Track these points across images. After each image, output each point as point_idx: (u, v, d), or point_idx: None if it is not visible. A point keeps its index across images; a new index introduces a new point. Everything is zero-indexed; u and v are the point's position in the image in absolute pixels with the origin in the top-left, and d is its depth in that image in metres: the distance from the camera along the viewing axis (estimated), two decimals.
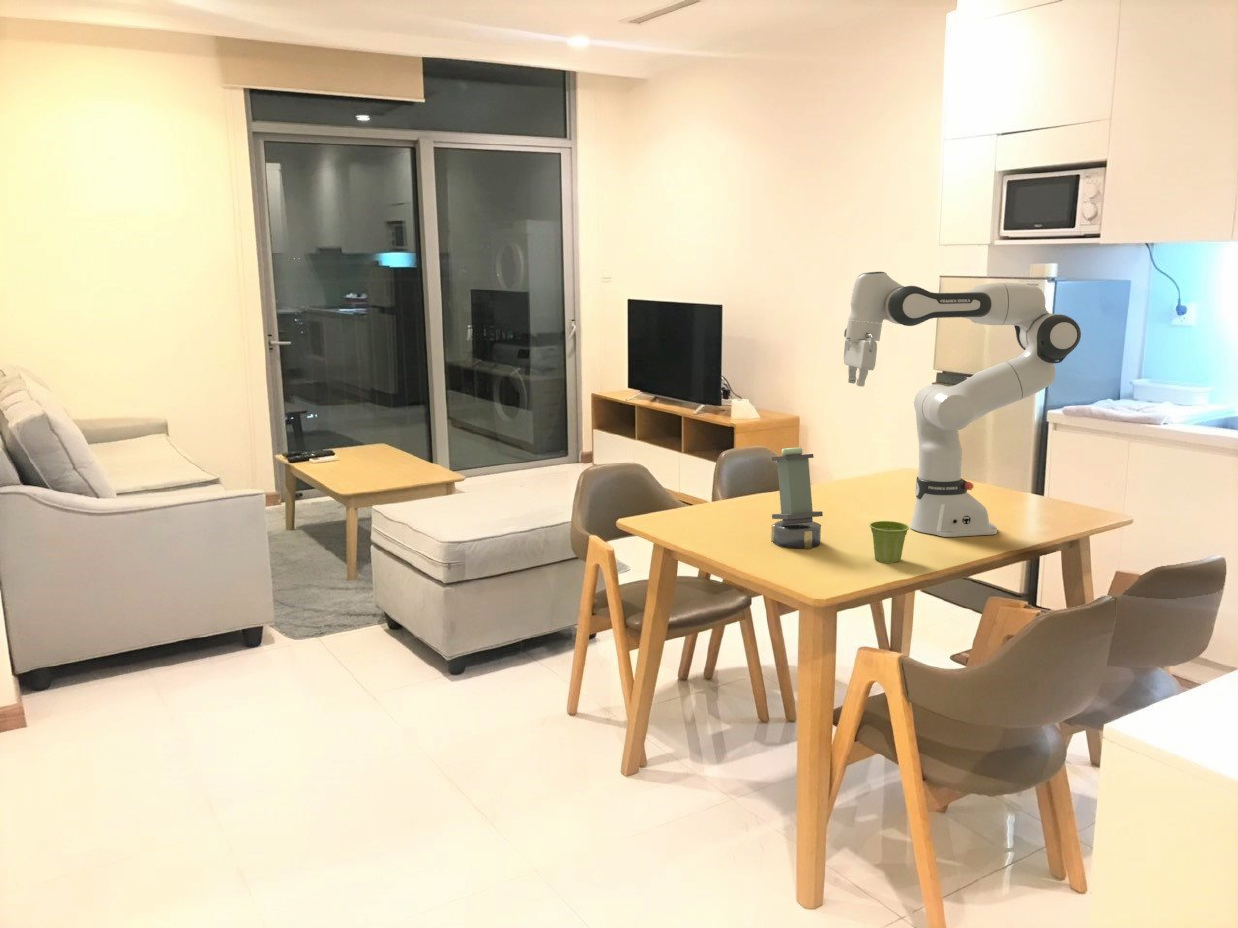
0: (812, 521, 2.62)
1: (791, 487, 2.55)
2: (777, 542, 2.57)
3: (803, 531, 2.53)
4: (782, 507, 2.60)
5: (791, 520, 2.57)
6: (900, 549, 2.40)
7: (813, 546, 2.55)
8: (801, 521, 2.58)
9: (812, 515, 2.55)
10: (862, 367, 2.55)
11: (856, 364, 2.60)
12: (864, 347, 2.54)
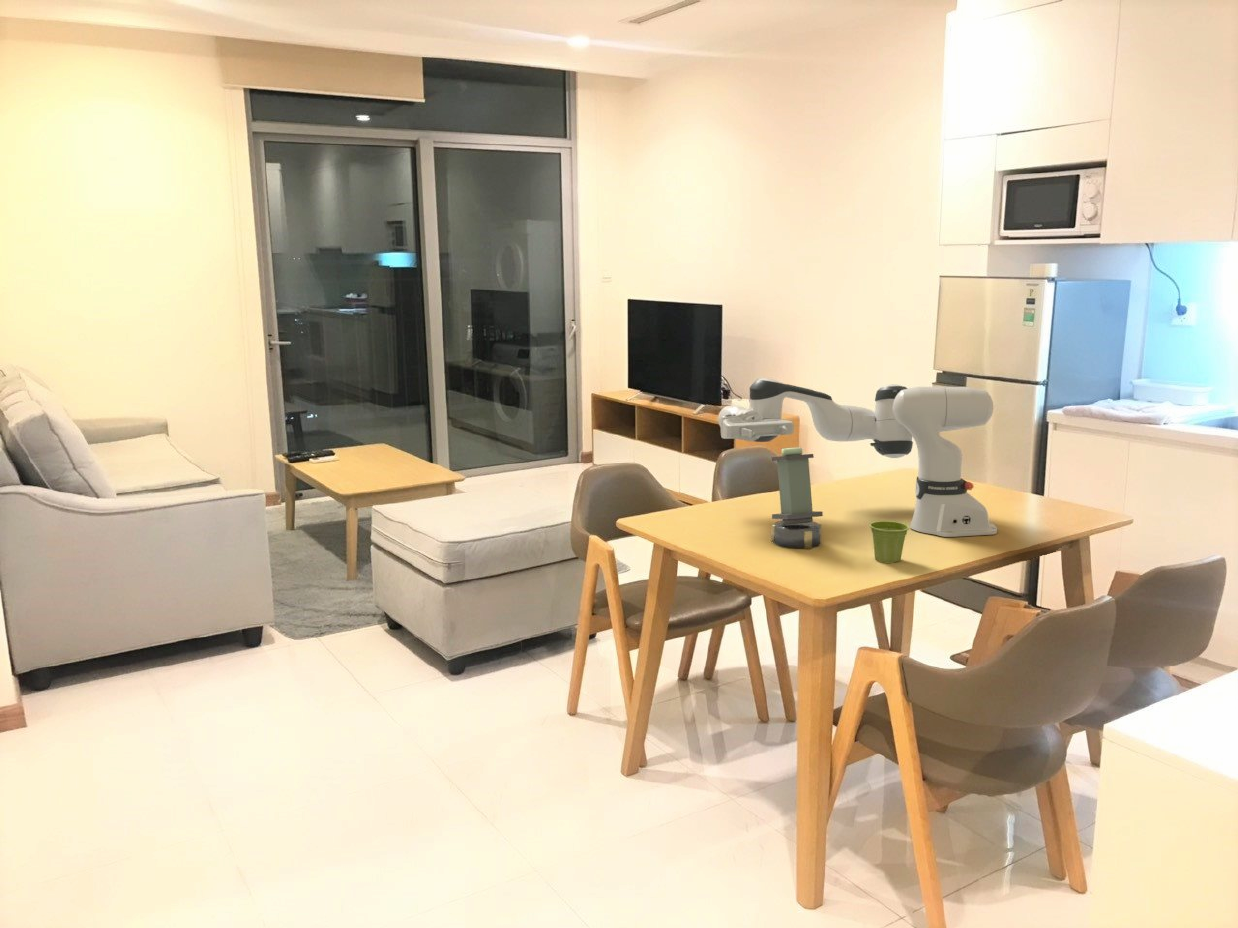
0: (812, 521, 2.62)
1: (791, 487, 2.55)
2: (777, 542, 2.57)
3: (803, 531, 2.53)
4: (782, 507, 2.60)
5: (791, 520, 2.57)
6: (900, 549, 2.40)
7: (813, 546, 2.55)
8: (801, 521, 2.58)
9: (812, 515, 2.55)
10: (792, 423, 2.79)
11: (776, 422, 2.78)
12: None
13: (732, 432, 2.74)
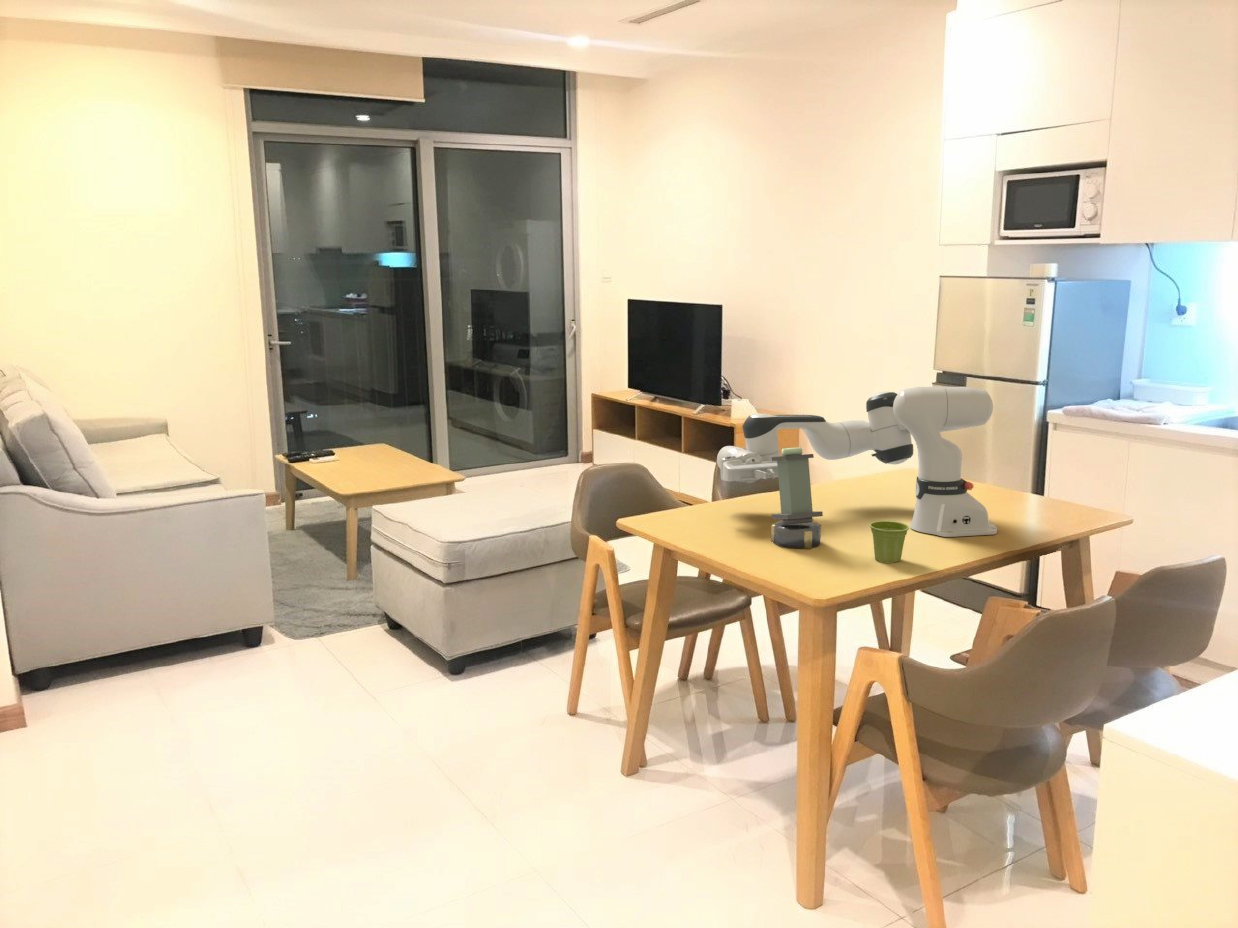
0: (812, 521, 2.62)
1: (791, 487, 2.55)
2: (777, 542, 2.57)
3: (803, 531, 2.53)
4: (782, 507, 2.60)
5: (791, 520, 2.57)
6: (900, 549, 2.40)
7: (813, 546, 2.55)
8: (801, 521, 2.58)
9: (812, 515, 2.55)
10: None
11: (776, 464, 2.78)
12: None
13: (733, 475, 2.73)
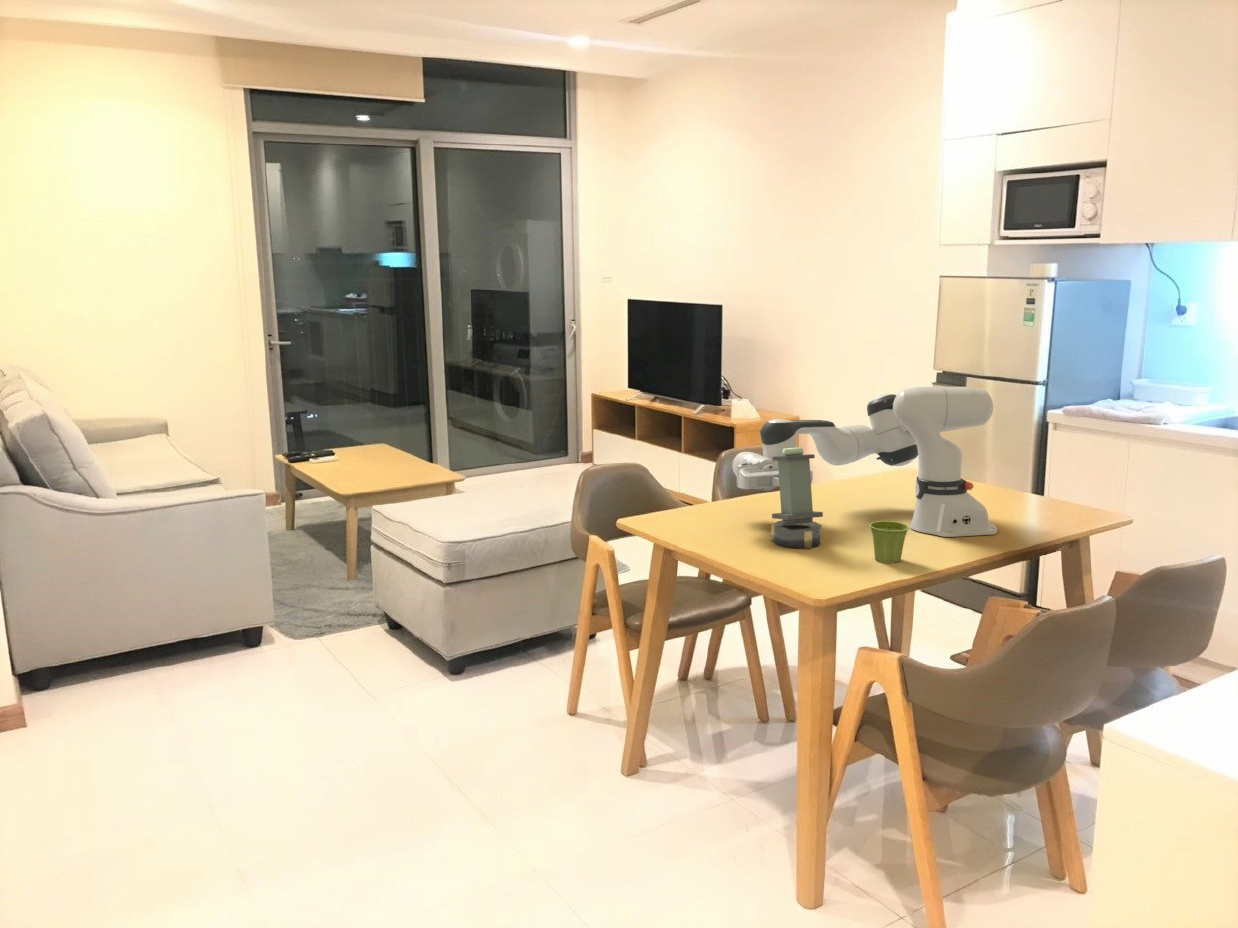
0: (812, 521, 2.62)
1: (791, 487, 2.55)
2: (777, 542, 2.57)
3: (803, 531, 2.53)
4: (782, 506, 2.59)
5: (791, 520, 2.57)
6: (900, 549, 2.40)
7: (813, 546, 2.55)
8: (801, 521, 2.58)
9: (812, 516, 2.55)
10: (811, 472, 2.68)
11: None
12: None
13: (750, 483, 2.63)
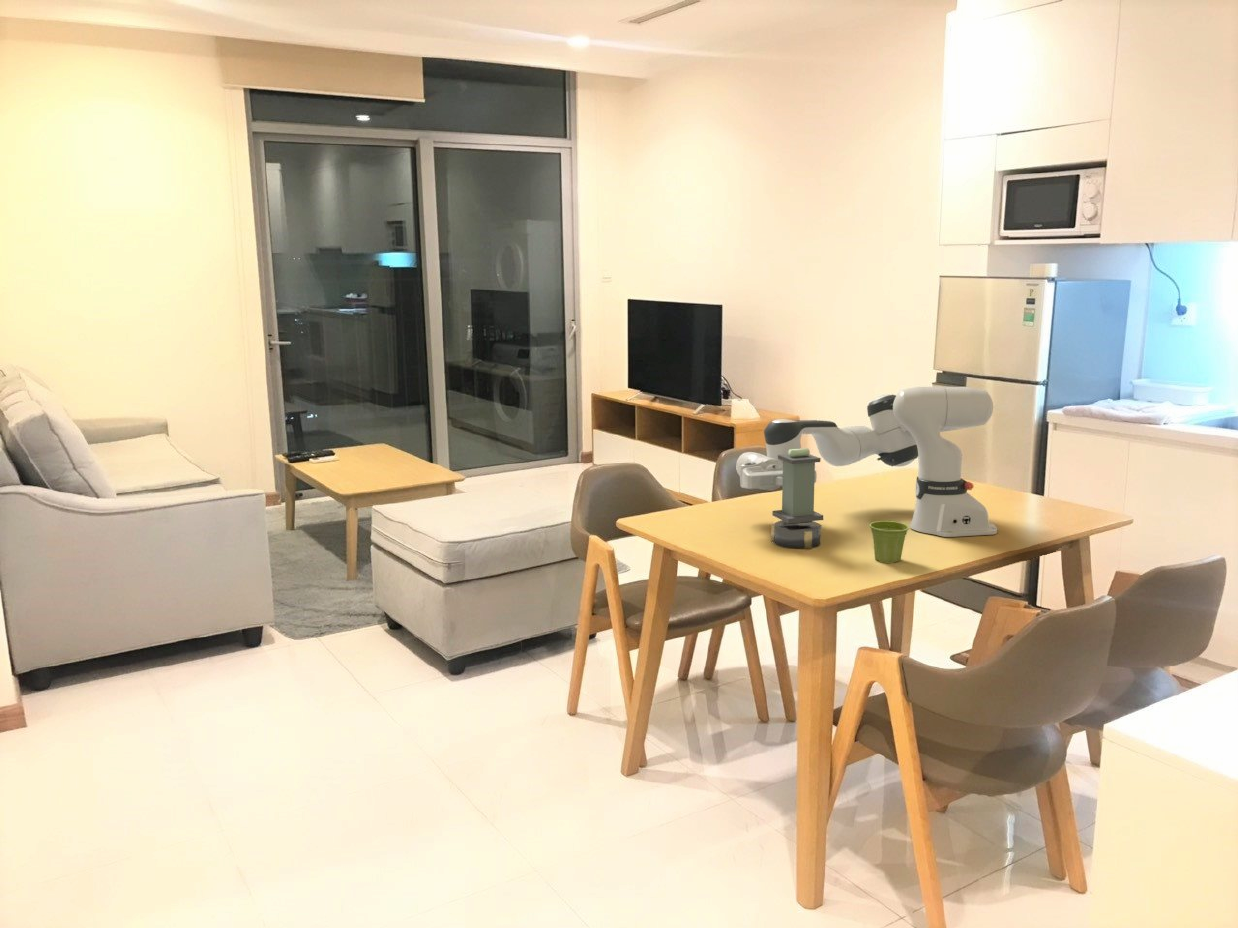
0: (812, 521, 2.62)
1: (794, 490, 2.53)
2: (777, 542, 2.57)
3: (803, 531, 2.53)
4: (783, 505, 2.59)
5: None
6: (900, 549, 2.40)
7: (813, 546, 2.55)
8: (801, 522, 2.58)
9: (813, 519, 2.55)
10: (815, 471, 2.67)
11: None
12: None
13: (753, 482, 2.61)
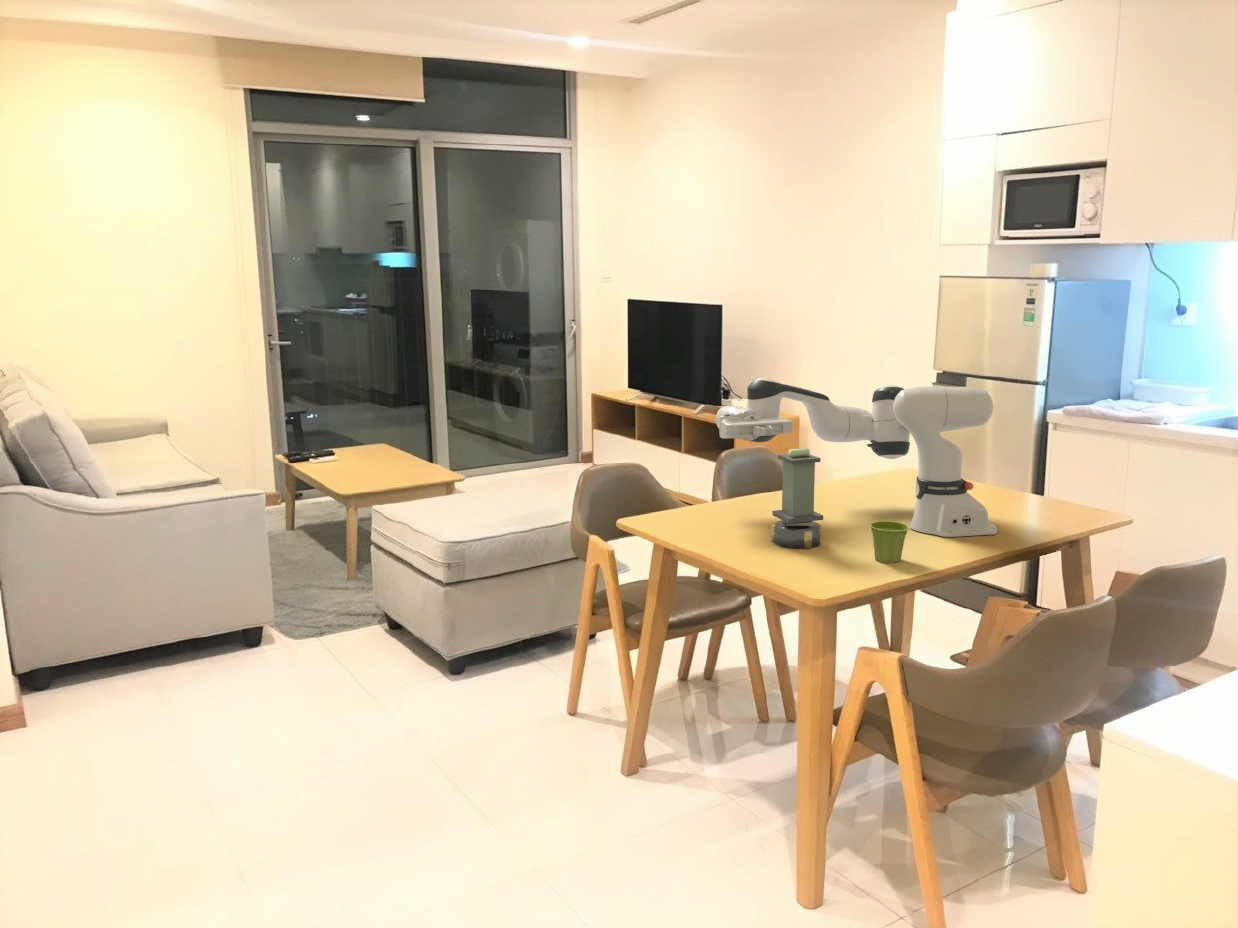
0: (812, 521, 2.62)
1: (794, 490, 2.53)
2: (777, 542, 2.57)
3: (803, 531, 2.53)
4: (783, 505, 2.59)
5: None
6: (900, 549, 2.40)
7: (813, 546, 2.55)
8: (801, 522, 2.58)
9: (813, 519, 2.55)
10: (791, 422, 2.78)
11: (775, 421, 2.77)
12: None
13: (732, 432, 2.72)
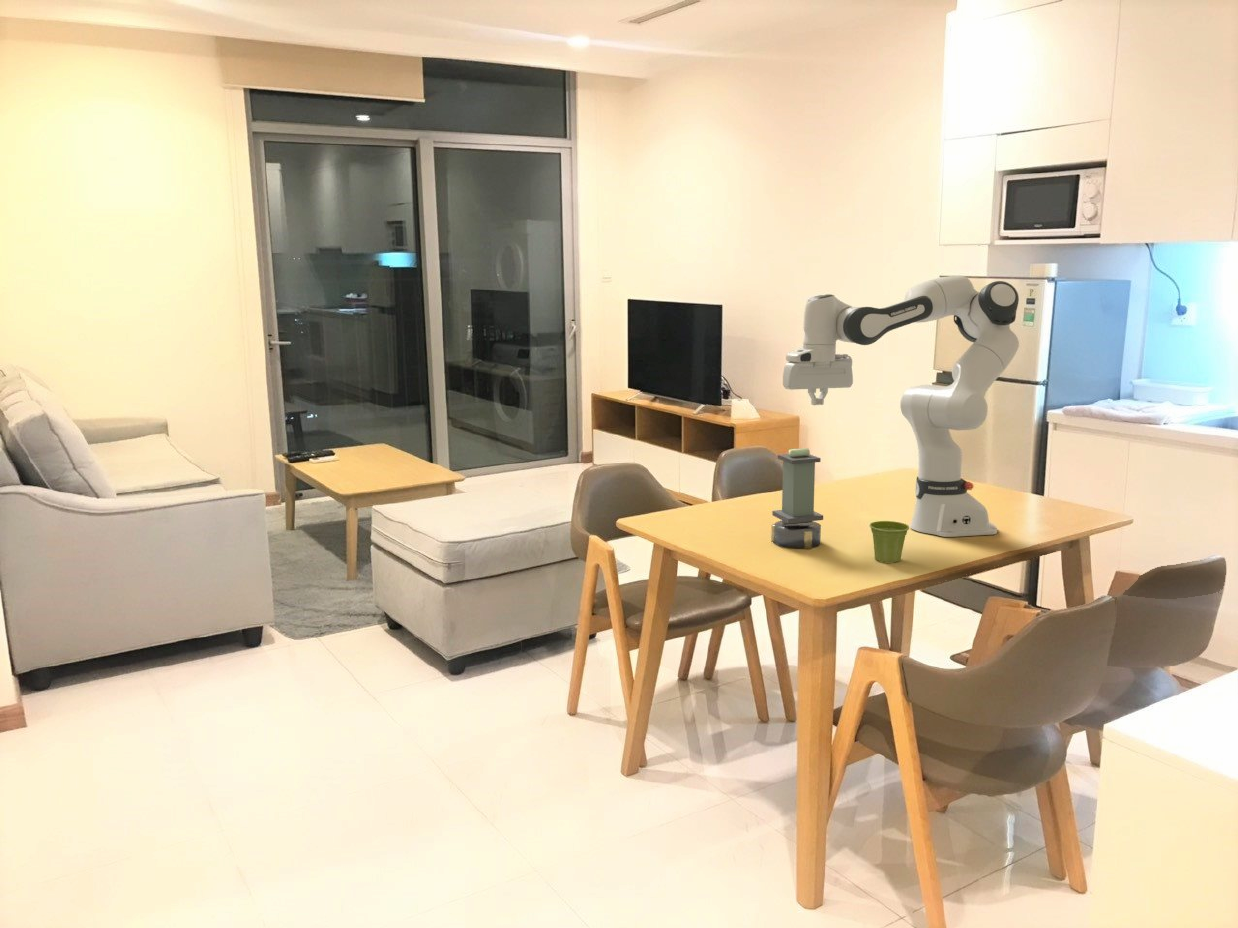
0: (812, 521, 2.62)
1: (794, 490, 2.53)
2: (777, 542, 2.57)
3: (803, 531, 2.53)
4: (783, 505, 2.59)
5: None
6: (900, 549, 2.40)
7: (813, 546, 2.55)
8: (801, 522, 2.58)
9: (813, 519, 2.55)
10: (851, 385, 2.75)
11: (836, 384, 2.73)
12: (851, 367, 2.74)
13: None
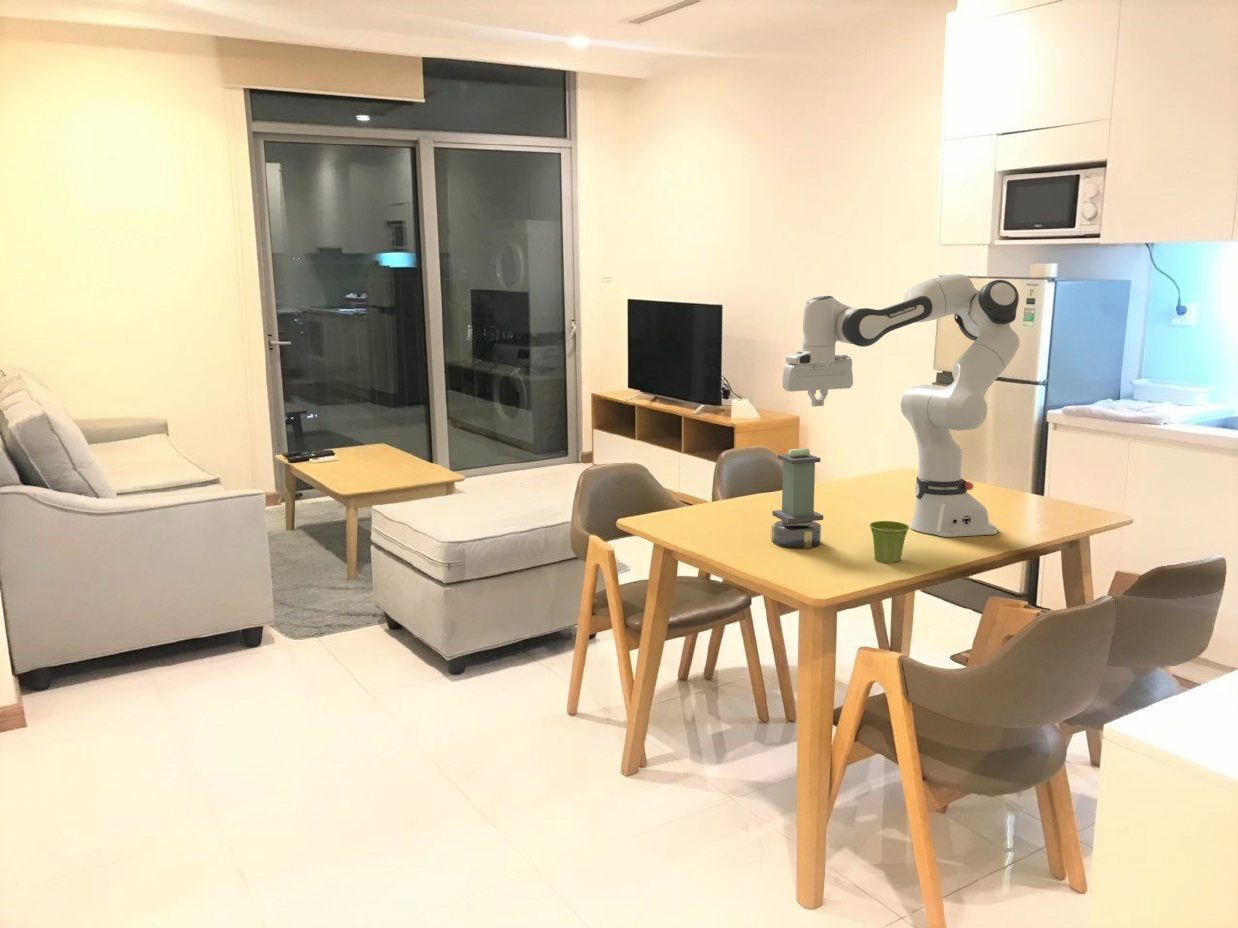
0: (812, 521, 2.62)
1: (794, 490, 2.53)
2: (777, 542, 2.57)
3: (803, 531, 2.53)
4: (783, 505, 2.59)
5: None
6: (900, 549, 2.40)
7: (813, 546, 2.55)
8: (801, 522, 2.58)
9: (813, 519, 2.55)
10: (851, 386, 2.75)
11: (836, 386, 2.73)
12: (851, 368, 2.74)
13: None
